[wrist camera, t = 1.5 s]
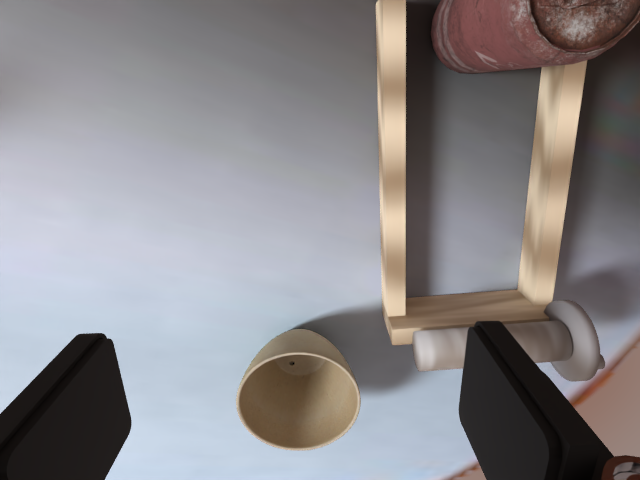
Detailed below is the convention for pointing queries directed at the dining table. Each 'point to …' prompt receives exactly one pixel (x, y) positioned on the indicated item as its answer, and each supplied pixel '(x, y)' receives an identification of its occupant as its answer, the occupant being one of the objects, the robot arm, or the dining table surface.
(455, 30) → the can
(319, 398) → the flower pot
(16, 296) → the dining table surface
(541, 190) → the bay
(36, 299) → the dining table surface
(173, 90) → the dining table surface
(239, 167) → the dining table surface
